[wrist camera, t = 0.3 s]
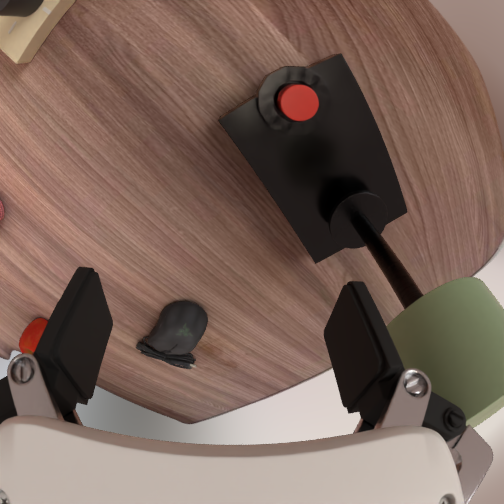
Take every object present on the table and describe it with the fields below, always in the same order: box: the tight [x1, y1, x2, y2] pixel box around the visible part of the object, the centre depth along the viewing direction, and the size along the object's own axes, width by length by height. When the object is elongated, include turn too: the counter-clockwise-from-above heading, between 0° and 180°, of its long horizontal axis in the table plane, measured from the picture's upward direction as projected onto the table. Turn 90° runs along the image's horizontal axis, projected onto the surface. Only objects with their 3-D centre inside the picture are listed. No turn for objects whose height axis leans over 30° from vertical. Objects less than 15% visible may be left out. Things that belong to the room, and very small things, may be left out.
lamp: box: [329, 190, 504, 428], centre depth 17 cm, size 9×9×20 cm
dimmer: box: [0, 0, 76, 64], centre depth 11 cm, size 12×8×3 cm
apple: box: [19, 318, 48, 355], centre depth 34 cm, size 6×6×8 cm
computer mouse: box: [136, 301, 208, 369], centre depth 37 cm, size 10×15×4 cm
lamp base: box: [218, 54, 407, 264], centre depth 24 cm, size 19×12×4 cm, turn 33°
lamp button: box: [277, 84, 319, 121], centre depth 18 cm, size 3×3×2 cm
